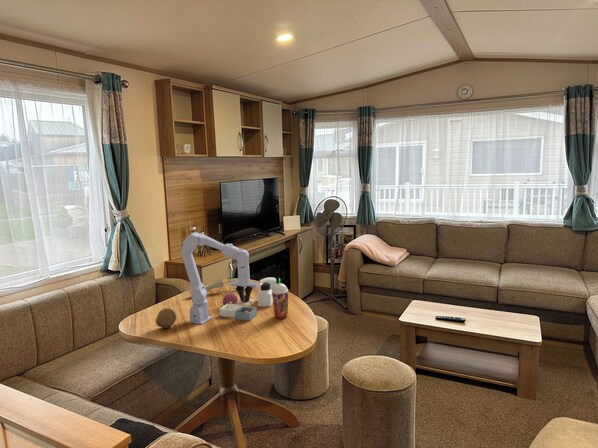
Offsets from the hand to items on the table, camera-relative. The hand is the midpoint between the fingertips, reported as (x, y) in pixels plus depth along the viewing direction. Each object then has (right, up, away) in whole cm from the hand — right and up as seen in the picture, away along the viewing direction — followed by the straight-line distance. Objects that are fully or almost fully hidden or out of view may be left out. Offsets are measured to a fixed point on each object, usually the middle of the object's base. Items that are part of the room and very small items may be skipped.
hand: (245, 300), depth 204 cm
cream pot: (-8, -8, +6) cm, 13 cm away
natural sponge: (-36, -12, -9) cm, 39 cm away
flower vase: (-21, -4, +43) cm, 47 cm away
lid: (0, -1, 0) cm, 1 cm away
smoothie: (+18, -8, +1) cm, 20 cm away
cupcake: (-12, -4, +20) cm, 24 cm away
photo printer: (+10, -5, +28) cm, 30 cm away
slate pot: (0, -9, +1) cm, 9 cm away
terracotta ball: (0, -7, +1) cm, 7 cm away
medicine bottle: (+9, -6, +19) cm, 22 cm away
